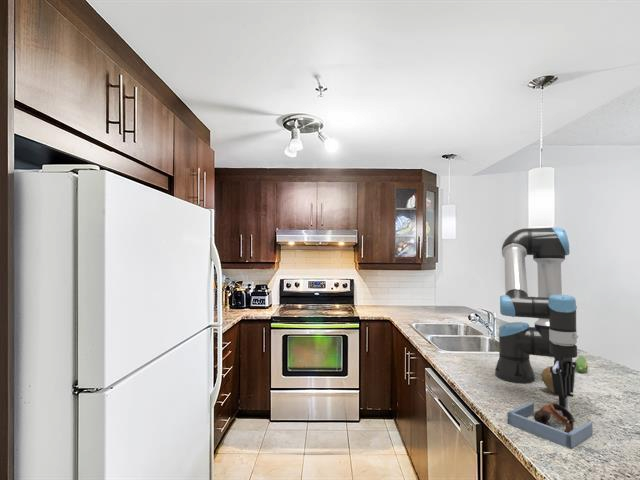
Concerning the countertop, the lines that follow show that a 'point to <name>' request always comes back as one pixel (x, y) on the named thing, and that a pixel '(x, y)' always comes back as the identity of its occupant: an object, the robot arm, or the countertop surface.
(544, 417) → the brown curved ring piece
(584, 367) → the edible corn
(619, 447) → the countertop surface
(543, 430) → the blue-grey u-shaped frame
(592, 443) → the countertop surface
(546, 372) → the natural sponge
